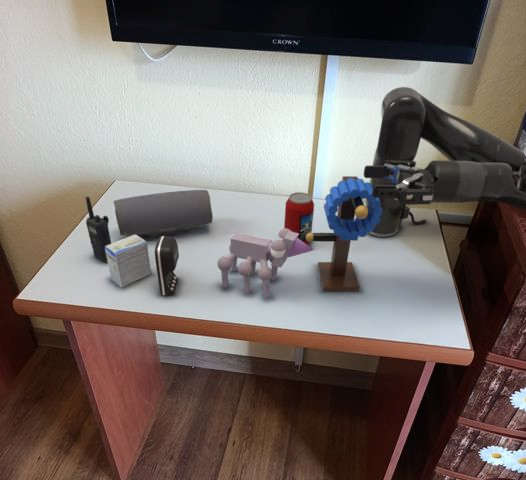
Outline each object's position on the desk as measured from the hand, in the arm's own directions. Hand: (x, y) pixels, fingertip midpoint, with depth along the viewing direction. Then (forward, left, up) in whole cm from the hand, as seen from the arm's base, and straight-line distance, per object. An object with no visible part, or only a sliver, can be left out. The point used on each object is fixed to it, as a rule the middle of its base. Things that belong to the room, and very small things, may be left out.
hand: (368, 181), depth 94 cm
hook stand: (+3, -3, -25) cm, 25 cm away
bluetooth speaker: (+25, -44, -25) cm, 56 cm away
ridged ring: (+2, -1, -11) cm, 11 cm away
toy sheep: (+15, -11, -25) cm, 31 cm away
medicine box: (+40, -29, -25) cm, 55 cm away
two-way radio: (+42, -40, -25) cm, 63 cm away
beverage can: (-1, -23, -25) cm, 34 cm away
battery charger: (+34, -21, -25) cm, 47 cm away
